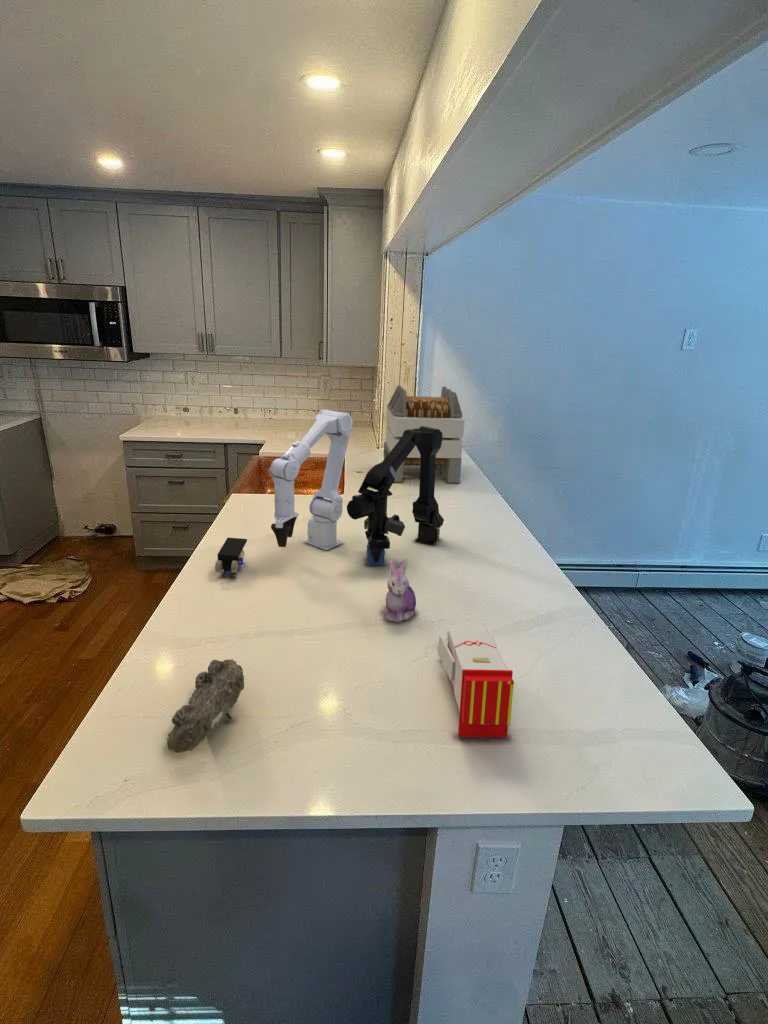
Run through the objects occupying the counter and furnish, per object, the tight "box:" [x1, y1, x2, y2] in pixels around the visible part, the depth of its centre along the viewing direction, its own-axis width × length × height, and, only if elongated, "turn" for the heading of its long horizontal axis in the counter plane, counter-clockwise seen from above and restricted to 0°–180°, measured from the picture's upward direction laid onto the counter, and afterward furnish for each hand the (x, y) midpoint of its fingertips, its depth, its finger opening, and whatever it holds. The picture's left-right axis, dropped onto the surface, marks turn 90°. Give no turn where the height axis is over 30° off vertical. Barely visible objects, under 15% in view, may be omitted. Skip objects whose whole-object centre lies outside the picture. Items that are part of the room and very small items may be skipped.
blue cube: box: [365, 544, 386, 566], centre depth 176 cm, size 5×5×5 cm
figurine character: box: [214, 537, 248, 578], centre depth 166 cm, size 7×8×15 cm
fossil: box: [166, 658, 245, 754], centre depth 106 cm, size 22×10×15 cm
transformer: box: [383, 384, 465, 484], centre depth 268 cm, size 34×33×41 cm
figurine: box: [384, 558, 417, 623], centre depth 145 cm, size 9×10×15 cm
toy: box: [437, 628, 515, 738], centre depth 117 cm, size 12×13×30 cm
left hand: (285, 541), depth 171 cm, fingers open, 7 cm apart
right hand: (375, 558), depth 176 cm, fingers closed on blue cube, 4 cm apart
